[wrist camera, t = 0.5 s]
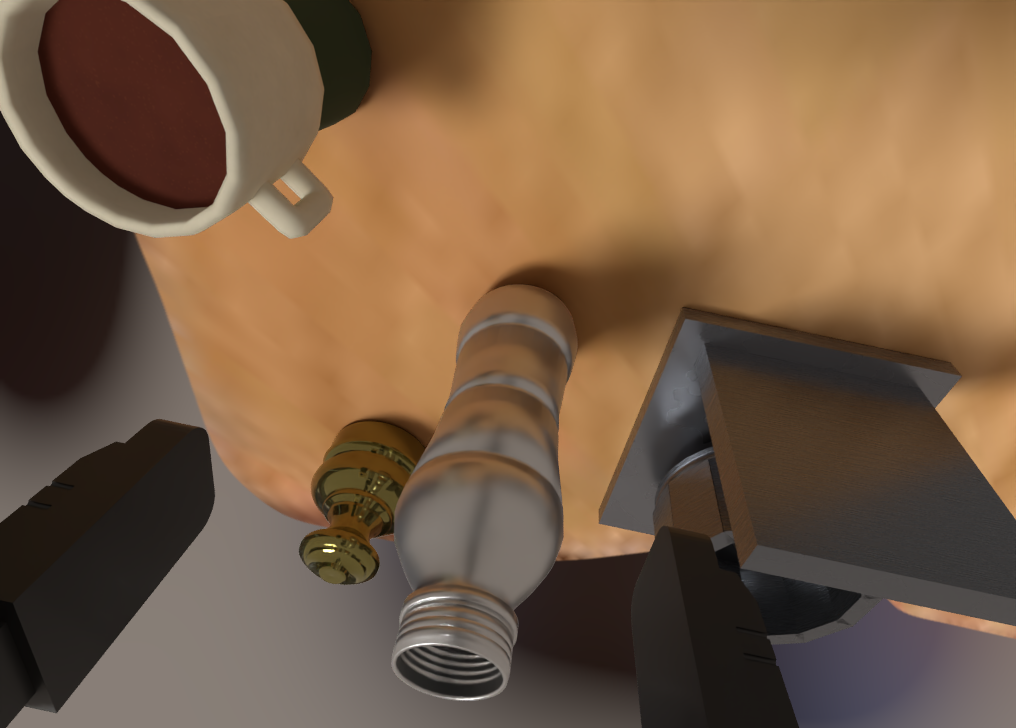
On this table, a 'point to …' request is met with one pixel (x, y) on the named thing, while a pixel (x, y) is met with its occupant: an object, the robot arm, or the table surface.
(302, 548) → the brass knob
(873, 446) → the cup bracket
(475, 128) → the table surface
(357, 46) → the character mug
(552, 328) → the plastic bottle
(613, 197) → the table surface
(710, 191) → the table surface
